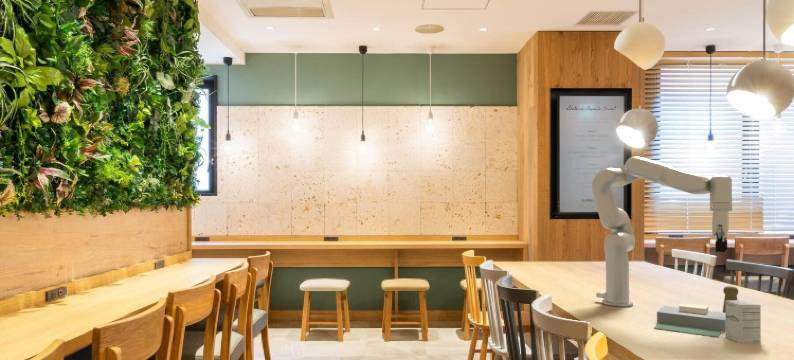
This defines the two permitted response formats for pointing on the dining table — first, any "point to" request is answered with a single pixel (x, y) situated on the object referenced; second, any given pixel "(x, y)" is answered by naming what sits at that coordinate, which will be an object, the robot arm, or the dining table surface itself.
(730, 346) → the dining table surface
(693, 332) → the mat
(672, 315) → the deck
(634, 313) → the dining table surface
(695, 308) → the card
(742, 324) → the supplement box
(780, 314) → the dining table surface
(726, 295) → the cork
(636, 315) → the dining table surface
